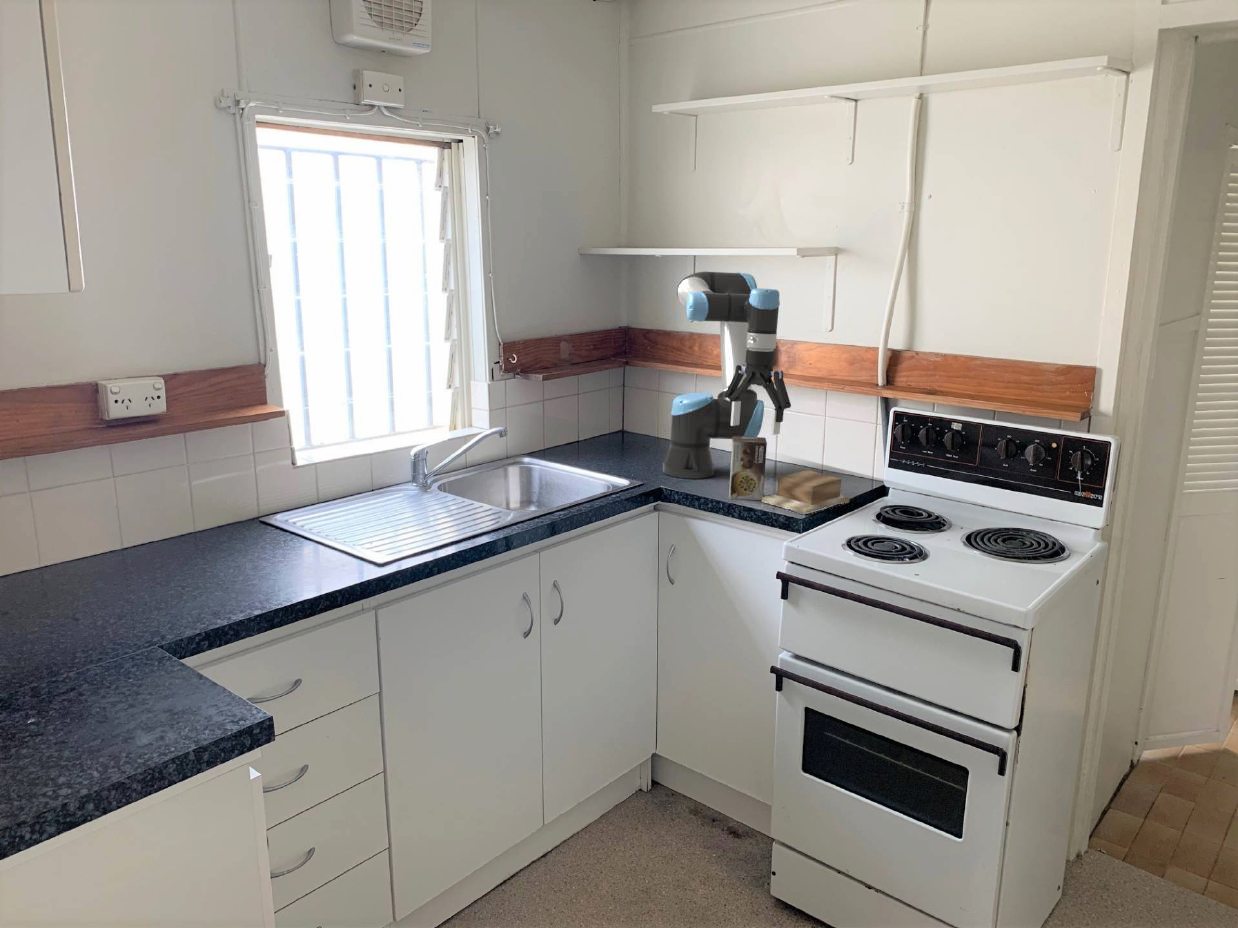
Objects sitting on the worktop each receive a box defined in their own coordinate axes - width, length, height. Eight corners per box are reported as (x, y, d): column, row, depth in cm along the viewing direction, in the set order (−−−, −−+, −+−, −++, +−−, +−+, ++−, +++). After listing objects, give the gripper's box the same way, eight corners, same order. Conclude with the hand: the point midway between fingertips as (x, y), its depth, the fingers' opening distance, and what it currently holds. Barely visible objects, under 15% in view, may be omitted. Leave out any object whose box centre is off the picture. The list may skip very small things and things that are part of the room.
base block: (776, 495, 245) (778, 477, 244) (805, 487, 254) (807, 470, 252) (811, 504, 237) (812, 486, 236) (839, 496, 246) (841, 478, 245)
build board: (761, 502, 243) (761, 496, 243) (806, 490, 257) (806, 484, 256) (804, 515, 234) (805, 509, 233) (849, 502, 247) (849, 496, 247)
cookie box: (761, 494, 251) (766, 437, 247) (763, 501, 245) (768, 442, 241) (728, 492, 252) (732, 435, 248) (728, 499, 246) (733, 440, 242)
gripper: (714, 344, 244) (709, 423, 249) (791, 355, 226) (784, 439, 231) (733, 343, 249) (727, 420, 254) (809, 354, 231) (801, 436, 236)
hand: (754, 429), depth 243 cm, fingers open, 13 cm apart
